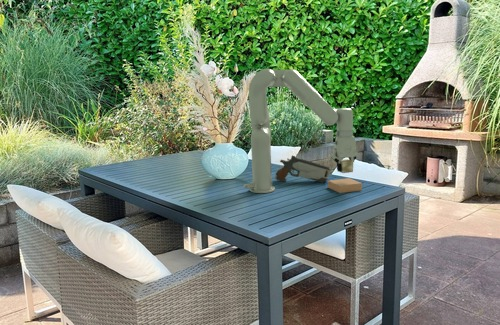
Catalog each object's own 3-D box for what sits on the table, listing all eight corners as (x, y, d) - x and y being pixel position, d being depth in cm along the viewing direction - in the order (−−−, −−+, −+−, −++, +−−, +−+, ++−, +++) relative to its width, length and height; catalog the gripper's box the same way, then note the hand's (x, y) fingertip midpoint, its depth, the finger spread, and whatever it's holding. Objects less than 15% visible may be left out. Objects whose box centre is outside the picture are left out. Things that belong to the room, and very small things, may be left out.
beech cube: (343, 173, 207) (343, 162, 206) (337, 171, 212) (337, 160, 211) (353, 171, 209) (353, 160, 208) (347, 170, 214) (347, 159, 213)
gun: (323, 194, 228) (331, 167, 224) (273, 179, 231) (281, 153, 228) (323, 191, 232) (331, 165, 229) (275, 177, 236) (282, 151, 233)
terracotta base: (339, 193, 205) (339, 185, 204) (328, 188, 216) (327, 180, 215) (361, 191, 208) (361, 183, 208) (348, 185, 220) (348, 178, 219)
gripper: (332, 136, 201) (333, 173, 204) (364, 133, 206) (364, 170, 209) (325, 134, 208) (325, 170, 211) (356, 131, 213) (356, 167, 216)
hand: (345, 170), depth 210 cm, fingers closed on beech cube, 5 cm apart
